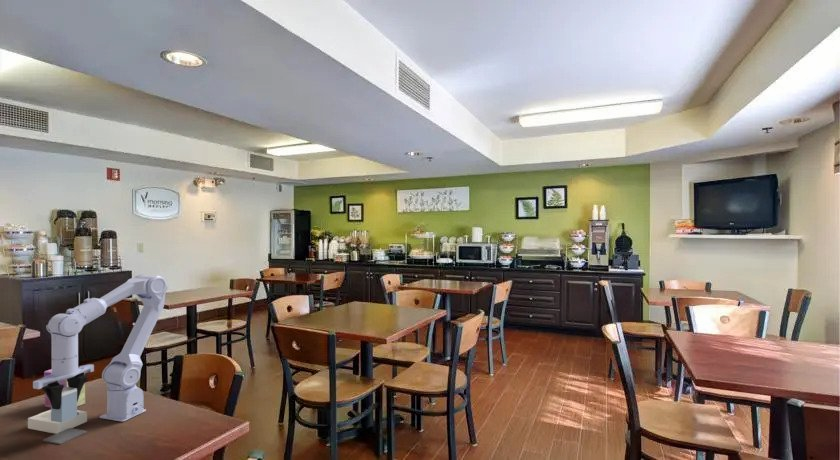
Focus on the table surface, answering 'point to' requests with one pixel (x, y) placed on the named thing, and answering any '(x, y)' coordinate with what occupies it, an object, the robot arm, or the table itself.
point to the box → (65, 383)
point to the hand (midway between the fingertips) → (65, 405)
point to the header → (46, 425)
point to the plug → (66, 406)
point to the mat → (64, 436)
